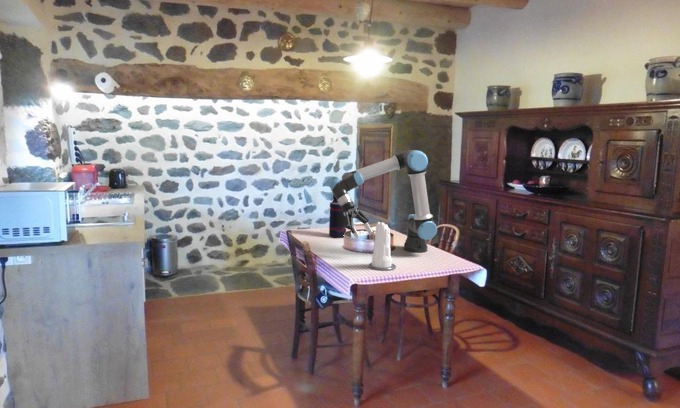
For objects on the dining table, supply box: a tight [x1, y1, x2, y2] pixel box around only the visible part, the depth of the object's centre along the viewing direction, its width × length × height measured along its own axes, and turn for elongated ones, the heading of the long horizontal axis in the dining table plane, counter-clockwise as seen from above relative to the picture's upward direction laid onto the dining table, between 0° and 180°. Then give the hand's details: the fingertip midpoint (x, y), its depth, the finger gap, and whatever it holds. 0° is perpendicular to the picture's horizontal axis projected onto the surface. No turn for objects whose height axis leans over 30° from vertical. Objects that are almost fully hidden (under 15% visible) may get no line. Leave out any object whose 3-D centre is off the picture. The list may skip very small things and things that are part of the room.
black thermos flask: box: [328, 193, 347, 239], centre depth 341 cm, size 14×12×30 cm
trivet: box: [368, 262, 397, 272], centre depth 269 cm, size 15×15×1 cm
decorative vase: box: [371, 221, 393, 268], centre depth 267 cm, size 11×11×25 cm
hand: (364, 235), depth 276 cm, fingers open, 13 cm apart
